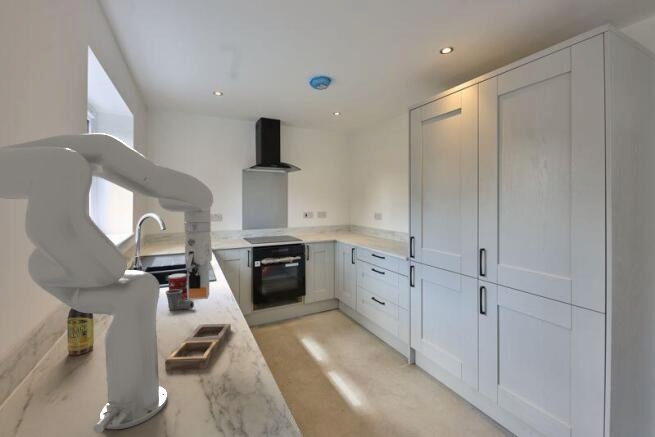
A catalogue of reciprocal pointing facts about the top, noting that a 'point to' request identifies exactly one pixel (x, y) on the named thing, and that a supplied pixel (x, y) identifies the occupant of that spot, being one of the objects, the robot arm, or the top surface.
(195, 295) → the skincare box
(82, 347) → the sauce bottle
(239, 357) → the top surface
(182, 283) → the canned food
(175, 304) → the pipe
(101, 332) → the top surface
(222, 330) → the wooden flat frame
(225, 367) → the top surface
